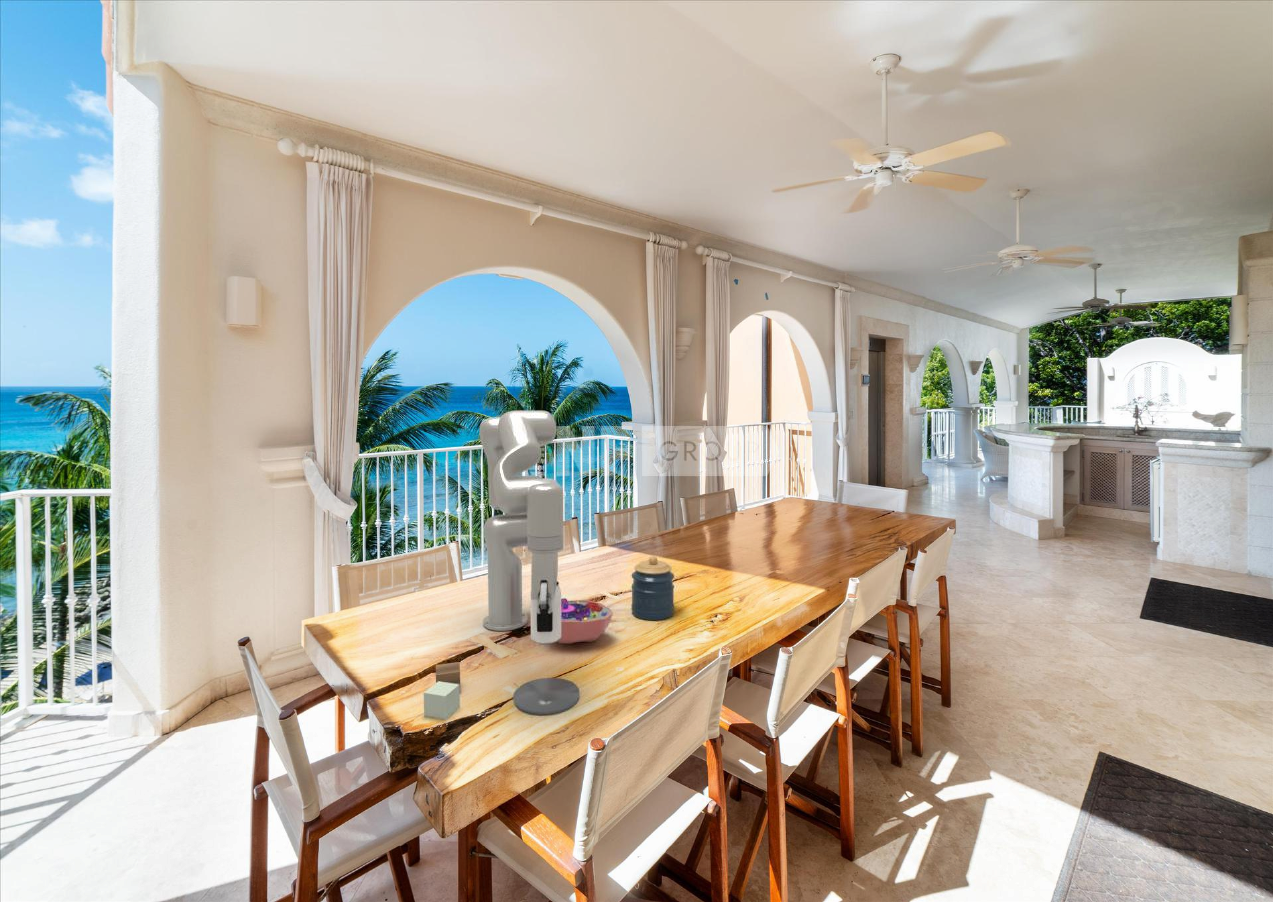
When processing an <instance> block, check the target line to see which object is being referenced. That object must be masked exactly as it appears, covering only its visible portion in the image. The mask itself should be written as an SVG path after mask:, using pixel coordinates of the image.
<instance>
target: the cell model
mask: <svg viewBox="0 0 1273 902" xmlns="http://www.w3.org/2000/svg"><path fill="white" fill-rule="evenodd" d="M613 614H614V612H613V610H612V609H610V608H609V607H608V606H606V605H605V604H603V603H601V602H598V601H593V600H588V599H579V600H575V599H574V600H568V599H567V598H566V597H564V598H562V597H561V638H560V639H559V640H558V641H557V643H560V644H575V643H580V642H586V643H591V642H594V641H596V640H598V638H600V637H601V636H602V635H603V633H605V631H606V630H607V629H608V627H609V624H610V622H611V619H612V617H613Z"/></svg>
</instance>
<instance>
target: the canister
mask: <svg viewBox="0 0 1273 902" xmlns="http://www.w3.org/2000/svg"><path fill="white" fill-rule="evenodd" d="M633 568H634V572H632V573H631V578H632V579H633V581H632V584H631V605H630V606H631V608H630V609H631V613H632V615H633V616H634V617H636V618H637V619H641V620H644V621H645V620H646V621H662V620H666V619H669V618H671V617H672V616H673V615H674V611H675V604H674V595H675V594H674V593H675V592H674V591H675V585H674V582H673V580H674V578H675V574H674V573H673V572H671V571H672V569H673V568H672V566H671V565H669V564H667V563H666V562H665V561H663V560H658V558H657V557H656V556H655V555H652V556H650V557H649V559H647V560H643V561H641V562H639V563H638V564H636V565H635V566H634V567H633Z"/></svg>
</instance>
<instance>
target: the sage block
mask: <svg viewBox="0 0 1273 902" xmlns="http://www.w3.org/2000/svg"><path fill="white" fill-rule="evenodd" d="M460 694H461V686H460V687H459V684H453V683H447V682H440V681H438V682H437V683H436V682H435V684H433V685H432V686H430V687H429V688H428V689H427V690H426V691H424V692H423V716H424V717H426V716H427V718H432V717H435V718H434V719H437V720H438V719H440V720H444V721H446V720H447V719H448V718H450V717H451V716H452V715H453V714H454V713H455V712H456V711H458V709H460V708H461V701H460V698H461V695H460Z"/></svg>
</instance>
